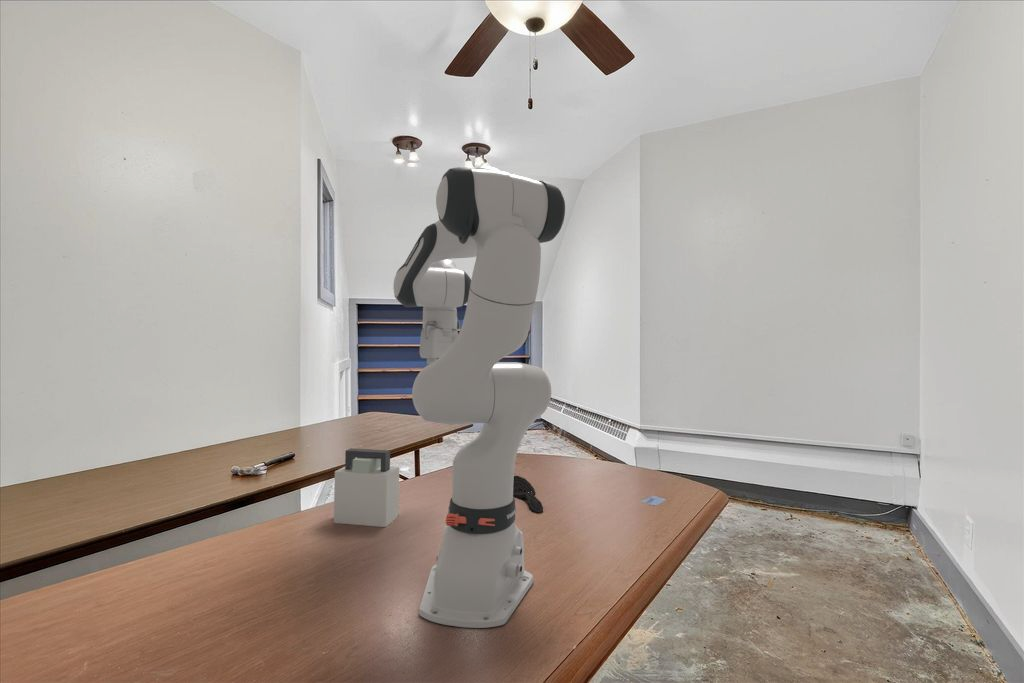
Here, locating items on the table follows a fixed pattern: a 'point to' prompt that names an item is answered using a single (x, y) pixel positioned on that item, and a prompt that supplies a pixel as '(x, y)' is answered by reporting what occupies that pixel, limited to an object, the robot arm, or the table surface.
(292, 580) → the table surface
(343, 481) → the stand
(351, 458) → the frame
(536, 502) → the hairbrush
